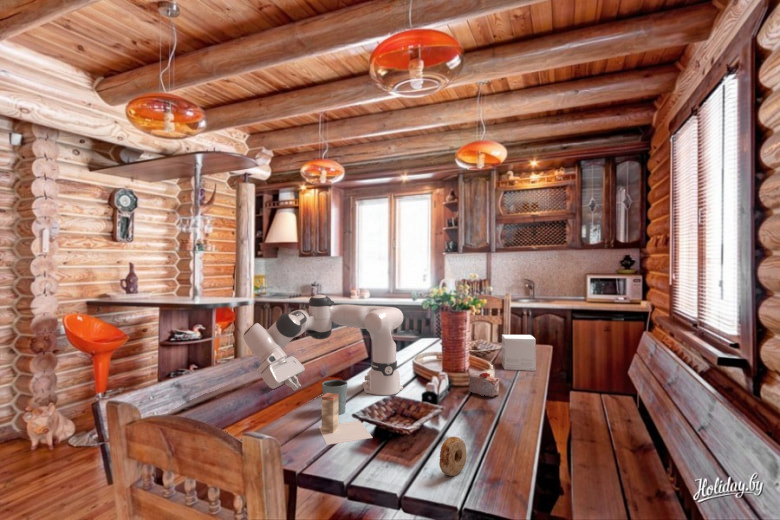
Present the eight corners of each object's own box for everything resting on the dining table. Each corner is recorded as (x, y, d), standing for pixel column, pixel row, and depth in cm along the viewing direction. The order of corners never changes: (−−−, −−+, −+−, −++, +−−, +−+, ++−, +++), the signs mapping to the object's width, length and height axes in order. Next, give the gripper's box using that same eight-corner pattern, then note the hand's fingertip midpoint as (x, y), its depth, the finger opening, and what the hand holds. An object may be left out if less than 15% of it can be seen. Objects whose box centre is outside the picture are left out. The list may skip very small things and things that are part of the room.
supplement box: (531, 365, 241) (531, 334, 241) (536, 371, 228) (536, 338, 228) (501, 364, 243) (501, 333, 244) (504, 370, 230) (504, 338, 230)
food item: (502, 395, 187) (502, 373, 187) (494, 399, 181) (494, 377, 181) (475, 389, 196) (475, 368, 196) (467, 393, 190) (467, 372, 190)
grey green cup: (319, 417, 160) (319, 386, 160) (324, 407, 170) (324, 379, 170) (345, 417, 160) (345, 386, 160) (348, 408, 170) (348, 379, 170)
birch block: (321, 431, 146) (321, 396, 146) (327, 426, 150) (327, 392, 150) (333, 433, 144) (333, 397, 144) (338, 428, 149) (338, 394, 149)
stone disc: (448, 482, 113) (448, 446, 113) (437, 477, 116) (437, 442, 116) (469, 468, 121) (469, 435, 121) (458, 464, 123) (458, 431, 123)
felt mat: (318, 427, 150) (318, 426, 150) (360, 421, 156) (360, 420, 156) (326, 445, 135) (326, 444, 135) (372, 438, 141) (372, 437, 141)
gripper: (284, 359, 164) (306, 385, 161) (253, 372, 144) (277, 403, 141) (294, 348, 163) (316, 375, 160) (264, 360, 143) (288, 391, 140)
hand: (298, 388), depth 150 cm, fingers closed
